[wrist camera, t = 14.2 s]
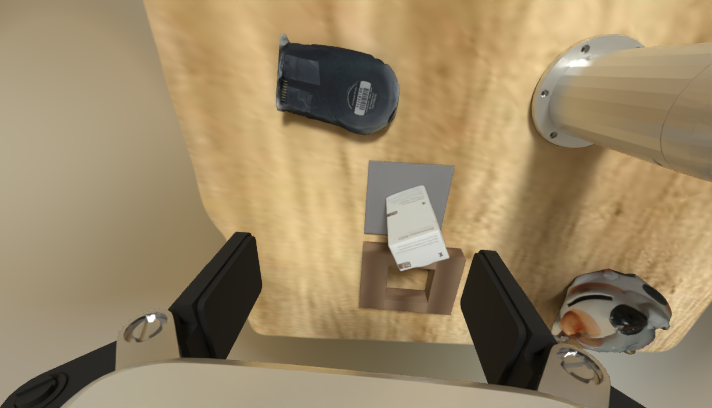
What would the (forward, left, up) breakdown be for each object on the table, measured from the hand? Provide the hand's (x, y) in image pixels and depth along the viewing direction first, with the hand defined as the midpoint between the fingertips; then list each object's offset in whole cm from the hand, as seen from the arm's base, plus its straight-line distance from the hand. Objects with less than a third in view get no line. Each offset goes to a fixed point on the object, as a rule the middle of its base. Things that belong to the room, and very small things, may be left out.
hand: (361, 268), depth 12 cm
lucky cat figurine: (-39, +26, -29) cm, 55 cm away
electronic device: (+4, -5, -29) cm, 30 cm away
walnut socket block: (-8, +24, -28) cm, 38 cm away
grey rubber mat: (-6, +10, -28) cm, 31 cm away
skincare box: (-6, +10, -28) cm, 30 cm away
